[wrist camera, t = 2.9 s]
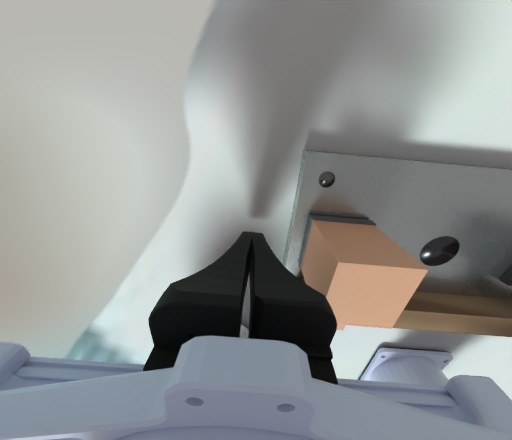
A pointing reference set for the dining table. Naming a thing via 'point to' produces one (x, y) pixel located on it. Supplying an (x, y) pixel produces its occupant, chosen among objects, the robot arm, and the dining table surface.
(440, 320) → the rail
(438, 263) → the plate
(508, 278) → the fixed leg
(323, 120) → the dining table surface
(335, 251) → the block
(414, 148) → the dining table surface
